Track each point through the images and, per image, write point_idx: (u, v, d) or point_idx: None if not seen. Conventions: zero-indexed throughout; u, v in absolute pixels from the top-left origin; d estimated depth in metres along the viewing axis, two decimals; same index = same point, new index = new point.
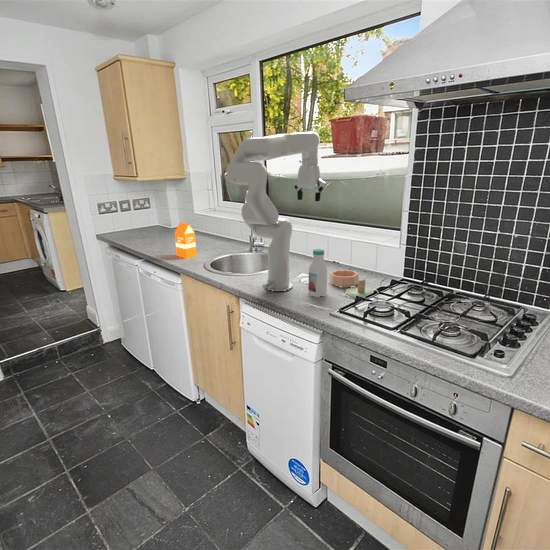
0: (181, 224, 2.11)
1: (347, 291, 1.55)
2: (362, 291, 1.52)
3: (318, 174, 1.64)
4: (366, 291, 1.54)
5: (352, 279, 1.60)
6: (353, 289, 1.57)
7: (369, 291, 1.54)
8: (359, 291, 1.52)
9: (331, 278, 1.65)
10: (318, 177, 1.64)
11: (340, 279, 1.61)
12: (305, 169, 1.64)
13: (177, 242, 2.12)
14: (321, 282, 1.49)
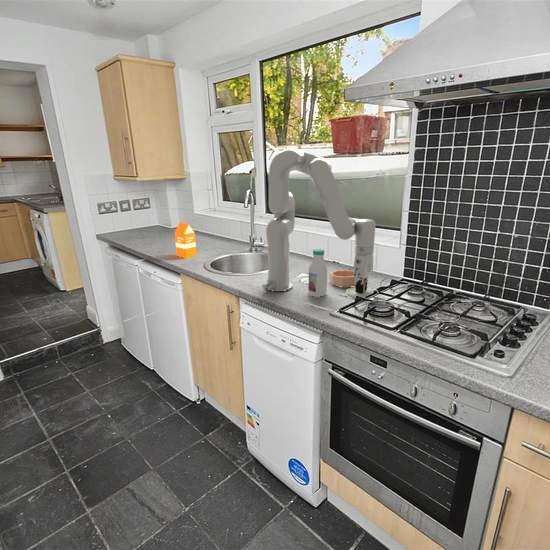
0: (181, 224, 2.11)
1: (347, 291, 1.54)
2: None
3: None
4: (366, 291, 1.54)
5: (352, 279, 1.60)
6: (353, 289, 1.57)
7: (369, 291, 1.54)
8: None
9: (331, 278, 1.65)
10: None
11: (340, 279, 1.61)
12: (369, 257, 1.47)
13: (177, 242, 2.12)
14: (321, 282, 1.49)
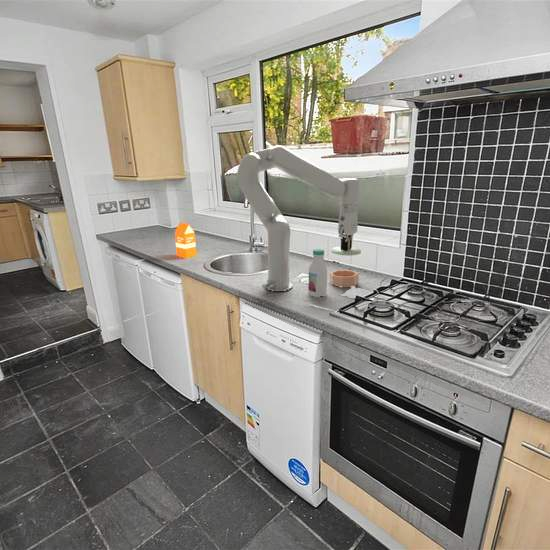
0: (181, 224, 2.11)
1: (333, 249, 1.62)
2: None
3: None
4: (351, 249, 1.62)
5: (352, 279, 1.60)
6: (339, 248, 1.65)
7: (353, 249, 1.62)
8: None
9: (331, 278, 1.65)
10: None
11: (340, 279, 1.61)
12: (353, 215, 1.55)
13: (177, 242, 2.12)
14: (321, 282, 1.49)
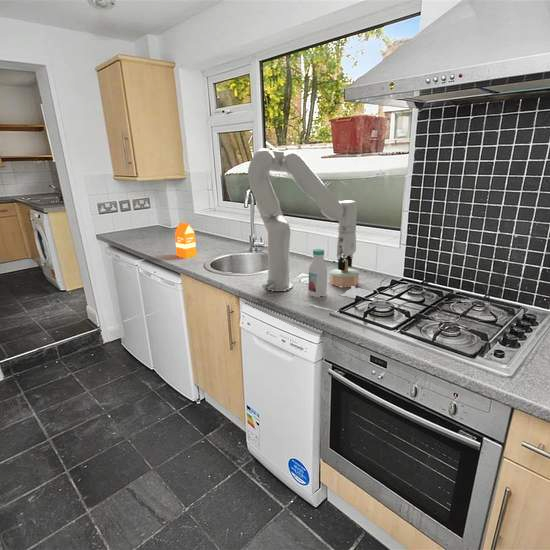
0: (181, 224, 2.11)
1: (332, 271, 1.66)
2: (345, 270, 1.63)
3: None
4: (349, 271, 1.66)
5: (352, 279, 1.60)
6: (337, 270, 1.68)
7: (352, 271, 1.66)
8: (342, 271, 1.64)
9: (331, 278, 1.65)
10: None
11: (340, 279, 1.61)
12: (352, 236, 1.58)
13: (177, 242, 2.12)
14: (321, 282, 1.49)
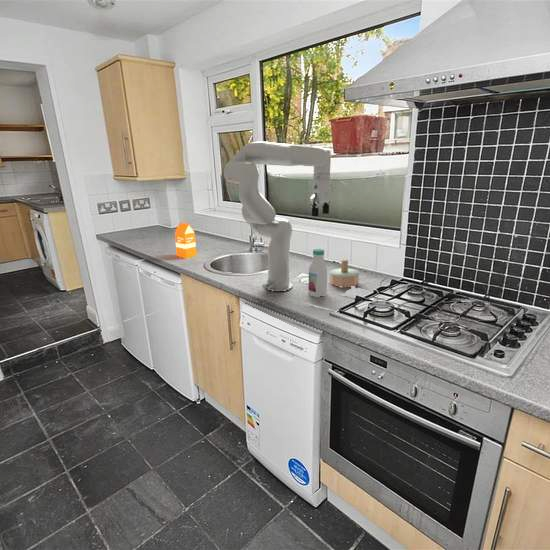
0: (181, 224, 2.11)
1: (332, 271, 1.66)
2: (345, 270, 1.63)
3: None
4: (349, 271, 1.66)
5: (352, 279, 1.60)
6: (337, 270, 1.68)
7: (352, 271, 1.66)
8: (342, 271, 1.64)
9: (331, 278, 1.65)
10: None
11: (340, 279, 1.61)
12: (326, 184, 1.63)
13: (177, 242, 2.12)
14: (321, 282, 1.49)
